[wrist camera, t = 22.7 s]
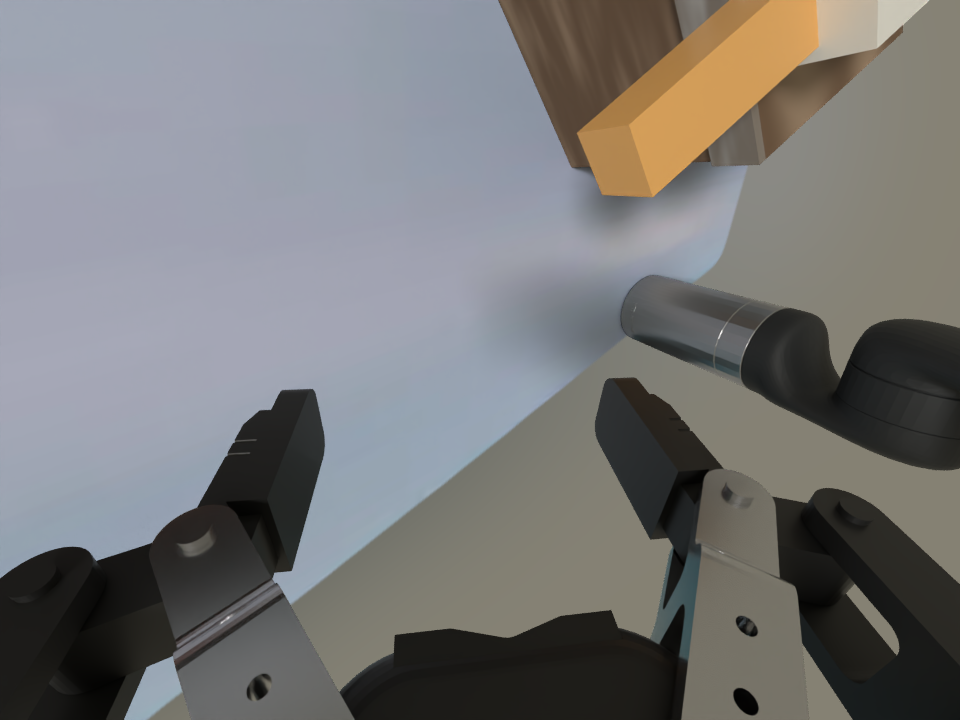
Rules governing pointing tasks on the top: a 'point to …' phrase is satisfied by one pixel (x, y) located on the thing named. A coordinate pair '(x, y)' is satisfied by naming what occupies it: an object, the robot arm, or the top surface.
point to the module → (723, 82)
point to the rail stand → (636, 49)
